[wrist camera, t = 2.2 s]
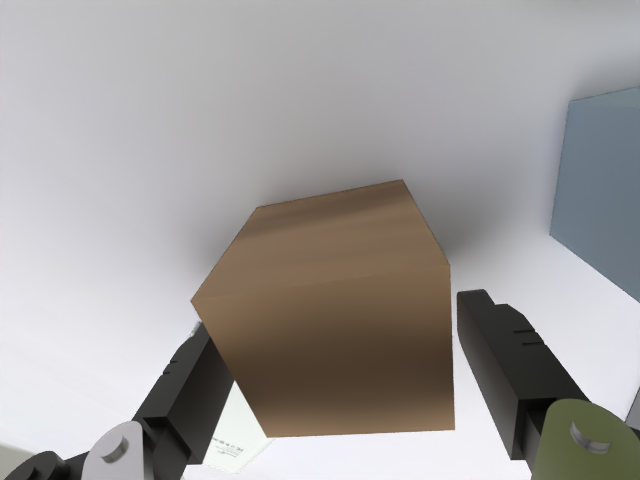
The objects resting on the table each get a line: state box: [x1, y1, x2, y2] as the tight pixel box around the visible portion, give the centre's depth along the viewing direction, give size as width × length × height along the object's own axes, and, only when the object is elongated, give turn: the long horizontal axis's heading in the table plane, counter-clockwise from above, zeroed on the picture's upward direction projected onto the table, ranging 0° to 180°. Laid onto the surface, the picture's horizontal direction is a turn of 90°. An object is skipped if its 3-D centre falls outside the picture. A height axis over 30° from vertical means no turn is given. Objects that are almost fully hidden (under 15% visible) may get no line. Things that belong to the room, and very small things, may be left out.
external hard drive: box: [189, 322, 278, 474], centre depth 19 cm, size 2×8×12 cm
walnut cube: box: [191, 179, 455, 438], centre depth 11 cm, size 6×6×6 cm
